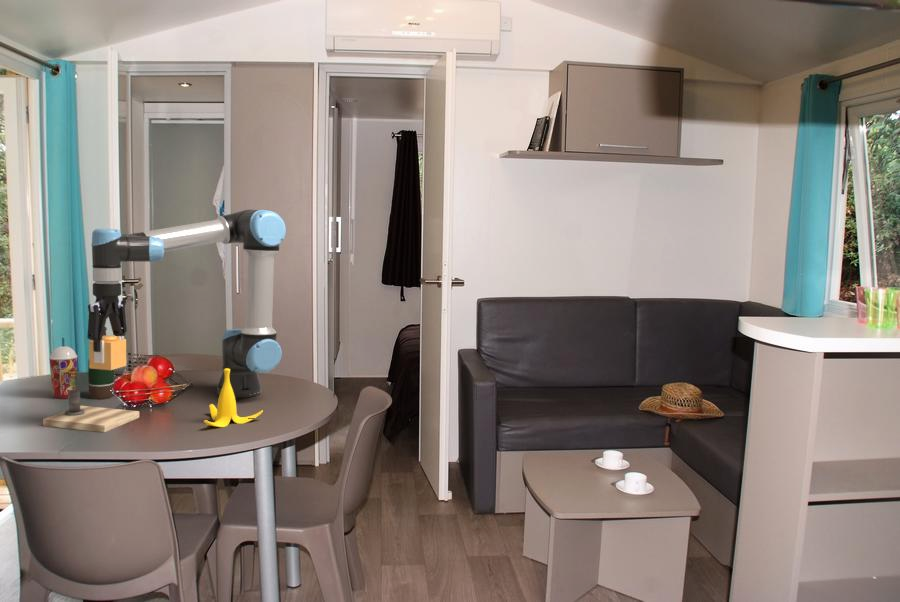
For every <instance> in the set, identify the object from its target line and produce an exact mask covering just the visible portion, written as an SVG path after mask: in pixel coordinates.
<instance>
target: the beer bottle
mask: <svg viewBox="0 0 900 602" xmlns="http://www.w3.org/2000/svg"><path fill="white" fill-rule="evenodd" d="M107 330H108V329H107V326H105V327H104V332H103V336H105V335H107ZM87 364H88V365H87V369H88V370H87V371H88V373H87V374H88V375H87V376H88V397H89V399H91V400H106V399H111V398H114V397H115V393H114V394H112V392H111V391H110V390H112V388H113V384H114V385H115V376H114V375H115V374H114V370H103V369H91V368H89V360H88V363H87Z"/></svg>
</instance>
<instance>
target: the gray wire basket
mask: <svg viewBox="0 0 900 602" xmlns="http://www.w3.org/2000/svg"><path fill="white" fill-rule="evenodd" d="M127 355H128V356H129V357H127V356H126V366H123V367H120V368H117V369H114V373H115V374H114V377H116V376H117V375H119V376H121V375H123V374H124V373H125V372H126V369H127V371H129V372H128V373H132V371H133V368H137V367H136V366H137V365H132V360H131V359H132V358H131V357H130V356H132V353H131V352H128V353H127ZM133 356H135V357H133V360H138V361H139V360H141V361H139V362H138V361H134V364H146V365H148V364H147V363H148V361H147V362H146V360H147V358H145V357H155V356H156V357H158V356H161V355H159V354H142V353H141V354H138V353H136V354H135V353H134V354H133ZM137 356H140V357H137ZM142 356H143V357H144V358H142ZM142 360H145V361H142ZM127 367H128V368H127ZM123 372H124V373H123ZM122 373H123V374H122ZM120 374H121V375H120Z"/></svg>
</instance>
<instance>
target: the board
mask: <svg viewBox="0 0 900 602" xmlns="http://www.w3.org/2000/svg"><path fill="white" fill-rule="evenodd" d="M137 419H140V410H139V411H138V410H130V409H129V410H128V409H121V408H120V409H119V408H118V409H117V408H109V407H100V406H99V407H97V406H86V405H81V390H80V389H78V388H76V389H72V390H69V398H68V410H65V411H62V412H60V413H56V414H54V415H51V416H49V417H45V418H42V426H43V427H50V428H60V429H69V430H77V431H78V430H80V431H88V432H97V433H106V432H110V431H111V430H113V429H116V428H119V427H120V426H123V425H126V424H127V423H130V422H133V421H135V420H137Z"/></svg>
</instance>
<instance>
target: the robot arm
mask: <svg viewBox="0 0 900 602" xmlns="http://www.w3.org/2000/svg"><path fill="white" fill-rule="evenodd" d="M286 229H287V228H286V224H285V222H284V220H283V218H282V217H281V216H280V215H279V214H278V213H277V212H275V211H271V210H268V209H267V210H266V209H245V210H240V211H237V212H233V213H229V214H226V215H225V214H224V215H219V216H218V217H216V219H214V220H213V219H211V220H207V221H201V222H194V223H189V224H183V225H177V226H170V227H166V228H158V229H152V230H146V231H142V232H134V233H121V230H120V229H115V228H95V229H93V231H92V234H91V256H92V257H91V258H92V259H91V260H92V281H93V283H92V296H94V297H95V302H94V303H93V304H88V305H87V309H88V320H87V321H88V322H87V323H88V324H87V340H89V341H92V340H93V350H94V363H104V340H102V336H103V332H104V327H106V323H107V319H108V320H109V323H110V324H109V325H110V327H111V331H112V334H113V336H117V338H118V339H123V338H122V337H125V336H126V333H127V331H128V329H127V328H128V327H127V320H126V319H127V317H126V316H127V315H126V300H122V299H121V300H120V299H119V297H120V296H121V295H122V284H121V281H122V263H123V262H124V263H126V262H134V263H135V262H139V263H140V262H146V263H147V262H148V263H153V262H161V261H162V260H163V258H164V254H165V253H167V252H172V251H179V250H184V249H189V248H195V247H201V246H207V245H211V244H216V243H222V244H224V245H228V244H242V246H243V247H242V248H243V249H242V250H243V252H244V253H245V254H246V256H247V271H246V272H247V273H246V274H247V275H246V309H245V310H246V312H245V327H243V328H234V329H227V330H225V331H223V333H222V339H221V342H222V372H221V375H220V378H219V381H218V385H217V388H216V389H217V390H216V391H217V392H216V394H217V395H218V396H219V395H220V392H221V389H222V387H223V384H224V379H225V375H224V369H226V368H228V369H230V374H229V380H230V384H231V387H232V389H233V392H234V396H235V399H241V398H242V399H243V398H251V397H256V396H259V395H261V394H262V392H263V391H262V390H263V389H262V383H261V380H260V378H259V374H261V373H262V374H264V373H265V374H266V373H269V372H270V371H273V370H274V369H275V368H276V367H277V366H278V365H279V363H280V362H281V359H282V354H283V350H282V348H281V345H280V344H279V342H278V341H277V331H276V330H275V329H274V327H273V309H274V307H273V306H274V304H273V303H274V300H273V299H274V282H275V281H274V279H275V278H274V276H275V275H274V274H275V272H274V271H275V256H276V255H278V253H279V252H280V244H281V243H282V242H283V241H284V239H285V238H286V234H287V233H286V232H287V231H286ZM258 373H259V374H258ZM260 391H261V392H260ZM257 392H259V393H257ZM254 393H256V394H254ZM250 394H251V395H250Z"/></svg>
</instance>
